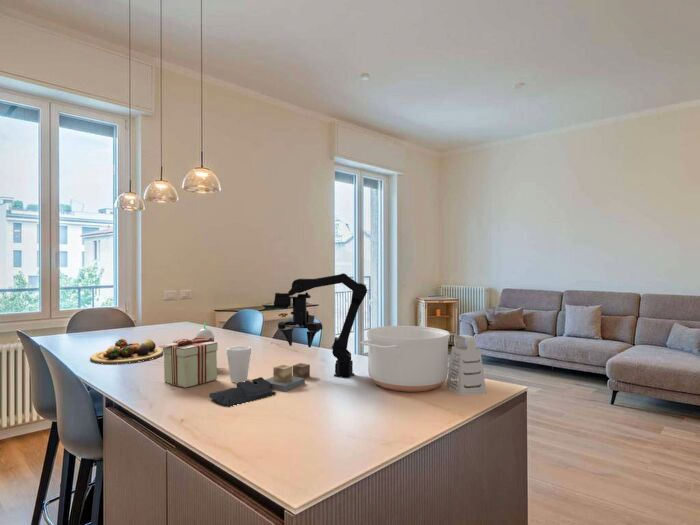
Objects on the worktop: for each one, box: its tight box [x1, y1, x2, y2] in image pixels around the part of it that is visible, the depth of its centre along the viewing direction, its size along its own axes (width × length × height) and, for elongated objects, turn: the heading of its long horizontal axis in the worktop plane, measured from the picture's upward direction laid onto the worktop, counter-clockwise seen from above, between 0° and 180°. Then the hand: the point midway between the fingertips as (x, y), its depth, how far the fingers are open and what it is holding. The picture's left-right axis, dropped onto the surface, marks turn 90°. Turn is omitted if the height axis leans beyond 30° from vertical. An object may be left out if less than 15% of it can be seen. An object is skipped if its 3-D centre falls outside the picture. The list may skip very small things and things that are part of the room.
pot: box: [359, 325, 451, 393], centre depth 169 cm, size 42×32×20 cm
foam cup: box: [226, 345, 252, 383], centre depth 172 cm, size 10×9×13 cm
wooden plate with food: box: [89, 338, 164, 365], centre depth 214 cm, size 32×32×8 cm
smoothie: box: [194, 322, 215, 342], centre depth 193 cm, size 8×8×20 cm
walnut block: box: [292, 362, 311, 379], centre depth 177 cm, size 5×5×5 cm
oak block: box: [272, 364, 293, 382], centre depth 166 cm, size 5×5×5 cm
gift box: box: [158, 336, 219, 389], centre depth 171 cm, size 17×18×17 cm
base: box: [265, 375, 306, 393], centre depth 166 cm, size 12×12×2 cm
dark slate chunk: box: [208, 376, 277, 408], centre depth 152 cm, size 15×22×5 cm
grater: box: [445, 334, 487, 396], centre depth 160 cm, size 10×10×20 cm
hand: (300, 346), depth 180 cm, fingers open, 9 cm apart
